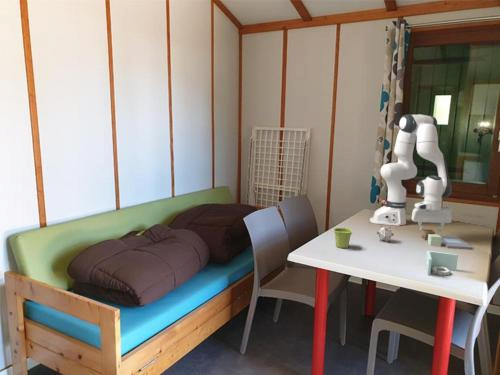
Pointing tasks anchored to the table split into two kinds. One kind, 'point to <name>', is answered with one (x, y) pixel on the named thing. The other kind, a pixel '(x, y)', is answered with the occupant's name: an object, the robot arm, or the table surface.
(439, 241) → the green cube
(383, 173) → the robot arm
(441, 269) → the l-shaped corner panel
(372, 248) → the table surface
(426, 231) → the walnut cube
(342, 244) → the plant pot
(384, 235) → the white spiky ball
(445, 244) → the board
